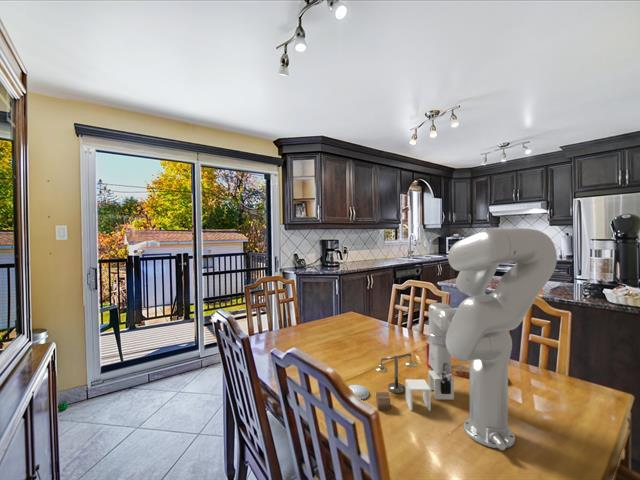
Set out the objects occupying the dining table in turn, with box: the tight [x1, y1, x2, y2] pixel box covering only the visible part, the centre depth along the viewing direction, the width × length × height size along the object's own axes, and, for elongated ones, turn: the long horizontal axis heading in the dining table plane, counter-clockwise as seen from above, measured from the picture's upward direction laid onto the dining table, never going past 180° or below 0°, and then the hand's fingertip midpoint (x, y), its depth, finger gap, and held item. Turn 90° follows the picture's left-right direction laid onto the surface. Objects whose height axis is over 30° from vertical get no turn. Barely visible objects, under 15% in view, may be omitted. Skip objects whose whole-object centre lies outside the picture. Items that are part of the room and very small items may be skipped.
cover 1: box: [404, 378, 432, 412], centre depth 100 cm, size 6×6×7 cm
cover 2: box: [428, 370, 455, 400], centre depth 106 cm, size 6×6×7 cm
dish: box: [348, 384, 370, 401], centre depth 108 cm, size 9×9×1 cm
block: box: [375, 391, 391, 411], centre depth 99 cm, size 4×4×4 cm
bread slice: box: [451, 364, 511, 384], centre depth 119 cm, size 18×18×4 cm
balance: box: [374, 353, 418, 395], centre depth 110 cm, size 6×15×13 cm, turn 87°
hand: (440, 386), depth 106 cm, fingers open, 9 cm apart
